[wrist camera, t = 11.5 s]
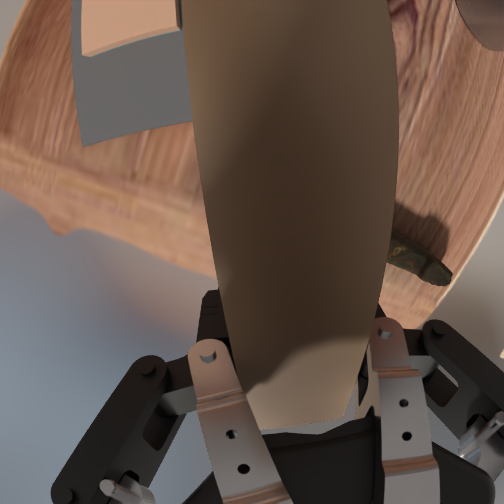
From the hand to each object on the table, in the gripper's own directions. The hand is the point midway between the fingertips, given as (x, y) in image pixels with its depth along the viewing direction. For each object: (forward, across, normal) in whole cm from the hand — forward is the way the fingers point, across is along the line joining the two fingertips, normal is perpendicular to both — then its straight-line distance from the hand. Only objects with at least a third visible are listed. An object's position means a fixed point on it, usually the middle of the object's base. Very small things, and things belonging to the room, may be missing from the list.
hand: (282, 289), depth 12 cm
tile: (+12, +9, -15) cm, 21 cm away
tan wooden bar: (0, 0, -5) cm, 5 cm away
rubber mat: (+13, +9, -18) cm, 24 cm away
